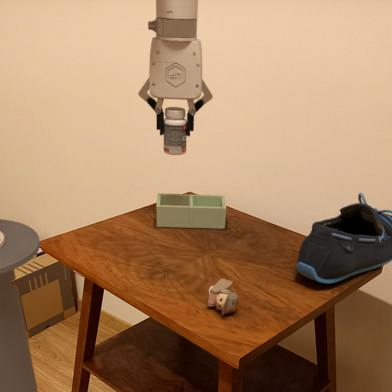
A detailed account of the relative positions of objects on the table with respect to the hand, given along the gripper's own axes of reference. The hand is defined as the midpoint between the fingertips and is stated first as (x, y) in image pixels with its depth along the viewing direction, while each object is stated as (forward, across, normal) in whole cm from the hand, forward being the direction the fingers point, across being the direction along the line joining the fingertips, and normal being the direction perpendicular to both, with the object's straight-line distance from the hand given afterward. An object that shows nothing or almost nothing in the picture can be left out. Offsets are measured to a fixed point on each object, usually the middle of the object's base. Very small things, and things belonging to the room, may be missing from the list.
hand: (175, 133), depth 105 cm
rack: (+20, +4, +2) cm, 20 cm away
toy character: (+17, +6, -34) cm, 39 cm away
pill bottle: (+4, 0, 0) cm, 4 cm away
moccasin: (+19, +36, -16) cm, 44 cm away
